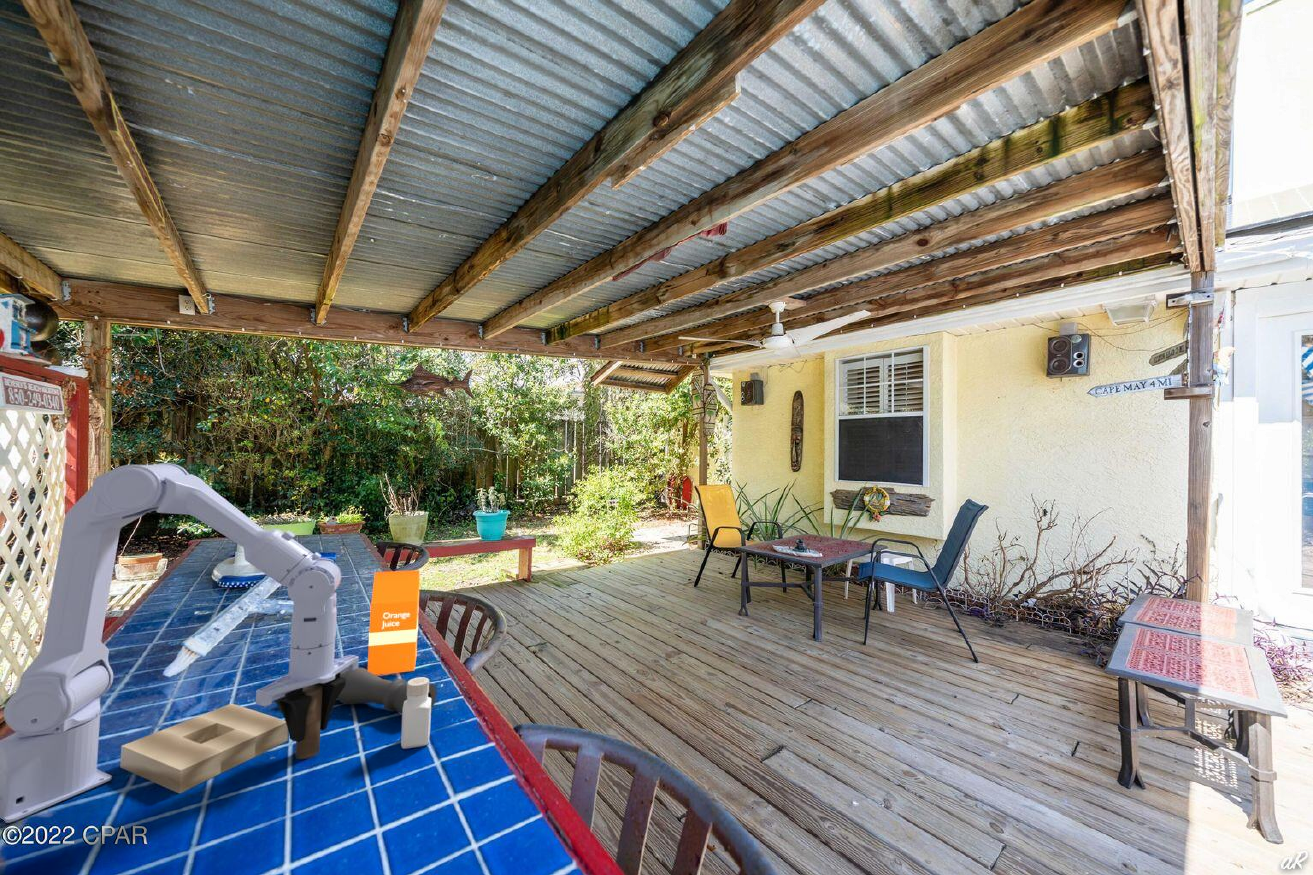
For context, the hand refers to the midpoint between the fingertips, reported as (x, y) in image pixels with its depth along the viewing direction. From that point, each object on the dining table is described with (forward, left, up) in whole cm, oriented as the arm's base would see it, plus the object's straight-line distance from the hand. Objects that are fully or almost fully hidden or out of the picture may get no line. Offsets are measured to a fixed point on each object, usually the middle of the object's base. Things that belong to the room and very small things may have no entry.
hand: (308, 733), depth 79 cm
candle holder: (+13, +18, 0) cm, 22 cm away
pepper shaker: (+9, -12, -3) cm, 15 cm away
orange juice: (+29, +15, -3) cm, 33 cm away
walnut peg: (0, 0, -3) cm, 3 cm away
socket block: (-6, +13, -3) cm, 15 cm away
